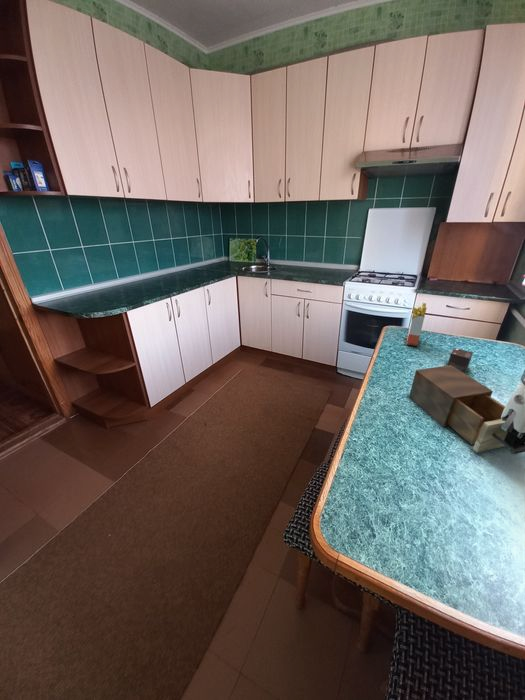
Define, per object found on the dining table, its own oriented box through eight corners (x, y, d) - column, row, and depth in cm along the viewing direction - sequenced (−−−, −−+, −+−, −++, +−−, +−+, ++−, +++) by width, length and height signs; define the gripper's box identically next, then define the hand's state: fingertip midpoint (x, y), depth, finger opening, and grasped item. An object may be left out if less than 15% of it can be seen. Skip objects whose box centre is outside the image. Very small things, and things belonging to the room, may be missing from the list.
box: (463, 376, 104) (470, 358, 101) (445, 370, 108) (450, 353, 105) (467, 369, 108) (473, 352, 105) (449, 364, 112) (454, 347, 109)
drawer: (538, 462, 69) (554, 434, 65) (498, 472, 67) (513, 443, 63) (469, 411, 86) (479, 387, 82) (436, 417, 84) (444, 392, 80)
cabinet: (480, 421, 83) (493, 391, 79) (442, 428, 81) (453, 397, 76) (441, 392, 96) (450, 364, 91) (408, 398, 94) (415, 369, 89)
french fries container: (404, 347, 126) (413, 307, 117) (406, 337, 134) (414, 300, 126) (416, 349, 124) (426, 309, 116) (417, 339, 132) (426, 301, 124)
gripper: (535, 397, 56) (501, 464, 64) (594, 386, 59) (554, 452, 67) (498, 376, 62) (472, 440, 71) (553, 367, 65) (521, 429, 74)
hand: (512, 445), depth 69 cm, fingers closed
